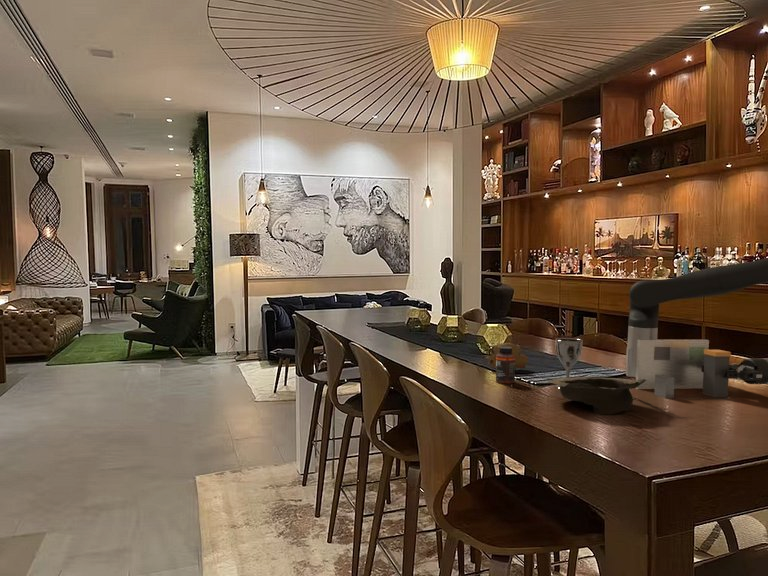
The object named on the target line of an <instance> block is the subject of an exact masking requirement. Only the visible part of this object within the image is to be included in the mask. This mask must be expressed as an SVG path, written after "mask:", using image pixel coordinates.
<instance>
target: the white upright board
mask: <svg viewBox="0 0 768 576" xmlns="http://www.w3.org/2000/svg"><path fill="white" fill-rule="evenodd" d="M709 344H710V340H709V339H657V340H638V342H637V364H636V378H635V381H637V380H642V379H646V381H645V382H644V383H642V384H641V385H639V386H638V387H637V388H635V389H636V390H654V393H653V395H655V396H658V397H661V398H663V399H674V397H675V396H674V395H675V394H682V392H675V389H677V390H678V389H679V390H680V389H683V390H684V389H703V374H704V372H702V371H701V368H702V365H704V355H705V354H704V350H710V349H709V346H710V345H709ZM705 399H707V400H709V399H711V400H713V399H714V400H716V399H721V400H723V399H725V397H700V398H699V397H698V398H697V397H696V398H695V397H694V398H692V397H691V398H690V397H689V398H688V397H686V398H682V397H681V398H678V400H705Z"/></svg>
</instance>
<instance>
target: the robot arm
mask: <svg viewBox="0 0 768 576" xmlns="http://www.w3.org/2000/svg"><path fill="white" fill-rule="evenodd" d="M765 283H768V257H766V258H763V259H762V258H761V259H759V260H754V261H748V262H740V263H732V264H726V265H720V266H719V265H718V266H713V267H708V268H702V269H699V270H694V271H691V272H687V273H684V274H681V275H678V276H675V277H671V278H663V279H655V280H654V279H653V280H649V279H648V280H646V279H645V280H644V279H643V280H639V281H637V282H635V283H633V285H631V287H630V289H629V292H628V298H629V300H630V302H629V314H628V315H629V316H628V329H627V346H626V352H625V353H626V354H625V355H626V358H625V375H626V377H631V378H635V379H636V364H637V342H638V340H658V332H659V331H658V327H659V325H658V324H659V316H660V315H659V313H660V304H663V303H667V302H668V303H669V302H670V301H676V300H690V299H691V300H692V299H699V298H700V299H701V298H703V299H704V298H708V297H709V298H710V297H716V296H721V295H726V294H730V293H734V292H737V291H741V290H743V289H747V288H749V287H752V286H756V285H760V284H761V285H762V284H765ZM701 371H702V372H704V365H702V368H701ZM722 378H725V379H728V380H729V379H735V380H741V381H743V382H745V383H746V384H747V385H768V358H766V357H765V358H764V357H763V358H762V357H758V358H757V357H756V358H755V357H754V358H752V357H751V358H750V357H749V358H745V359H743V360H742V361H741V362H740V363H735V362H733V363H729V370H723V371H722Z"/></svg>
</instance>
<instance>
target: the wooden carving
mask: <svg viewBox="0 0 768 576" xmlns="http://www.w3.org/2000/svg"><path fill="white" fill-rule="evenodd" d="M500 347H512V354H514V355H515V369H517V368H519V369H525V368H526V366H527V364H528V361H529V360H530V357H529V356H527V355H526V354H523V353H521V352H522V349H521V346H520V345H519V344H513V343H511V342H501V343H498V344H496V345H495V344H494V345H492V346H491V354H488V355H487V354H486V355H484V358H485V359H486V360H487V361H488V362H487V364H488V365H489V366H490V367H491V368H494V369H495V370H496V355H497V354H498V353H499V352H500V351H499V348H500Z"/></svg>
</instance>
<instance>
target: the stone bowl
mask: <svg viewBox="0 0 768 576" xmlns="http://www.w3.org/2000/svg"><path fill="white" fill-rule="evenodd" d="M645 381H646V379H642V380H637V381H636V380H633V379H624V378H618V377H617V378H616V377H603V376H602V377H599V376H593V377H591V376H590V377H589V376H580V377H577V376H575V377H569V378H566V377H560V378H554V379H548V380H547V382H548V383H551V384H553V385H556V386H557V385H560V389H559V392H560V394H561V396H562V397H563V398H564V399H566V400H570V401H574V402H577V403H584V404H585V405H589V406H592V408H593V412H594V413H595V414H597V415H612V414H619V413H621V412H627V411H629V410H630V409H631V405H632V404H633V402H634V397H633V394H632V392H631V389H636V388H637V387H638V386H639V385H641V384H642V383H644V382H645Z"/></svg>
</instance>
